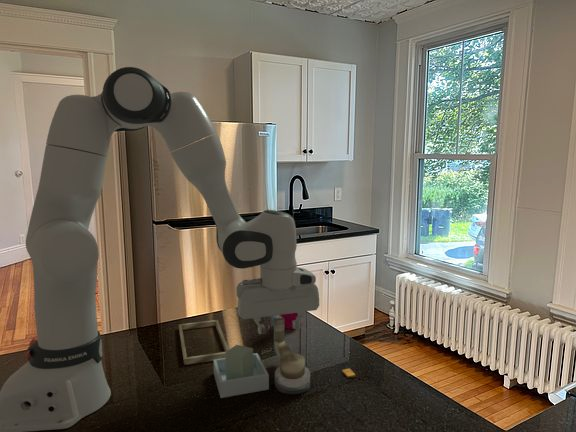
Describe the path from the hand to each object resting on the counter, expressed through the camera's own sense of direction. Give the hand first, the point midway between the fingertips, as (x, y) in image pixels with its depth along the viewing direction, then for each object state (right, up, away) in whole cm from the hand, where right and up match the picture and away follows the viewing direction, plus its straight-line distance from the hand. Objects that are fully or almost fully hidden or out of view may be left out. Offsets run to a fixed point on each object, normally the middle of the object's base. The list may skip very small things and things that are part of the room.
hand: (279, 330), depth 103 cm
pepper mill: (+3, -5, +24) cm, 25 cm away
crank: (+2, -6, -5) cm, 8 cm away
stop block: (-9, -9, -7) cm, 15 cm away
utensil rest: (-22, -7, +12) cm, 26 cm away
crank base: (+8, -9, -7) cm, 15 cm away
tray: (-9, -10, -7) cm, 15 cm away
